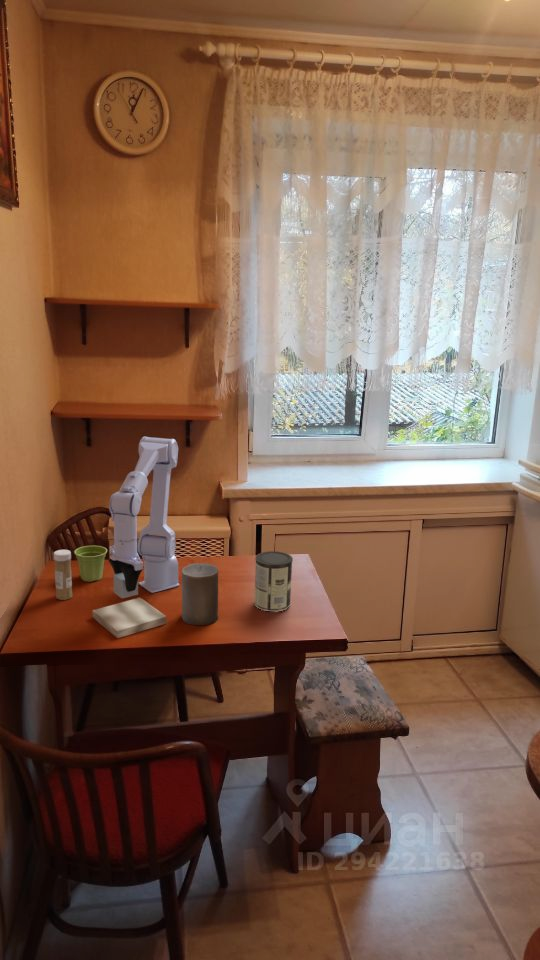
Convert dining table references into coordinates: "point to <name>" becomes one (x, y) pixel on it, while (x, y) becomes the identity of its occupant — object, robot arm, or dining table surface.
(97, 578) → the plant pot
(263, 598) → the coffee can
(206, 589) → the pillar candle
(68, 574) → the sprinkles bottle
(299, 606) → the dining table surface
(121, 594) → the grey block
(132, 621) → the birch base
